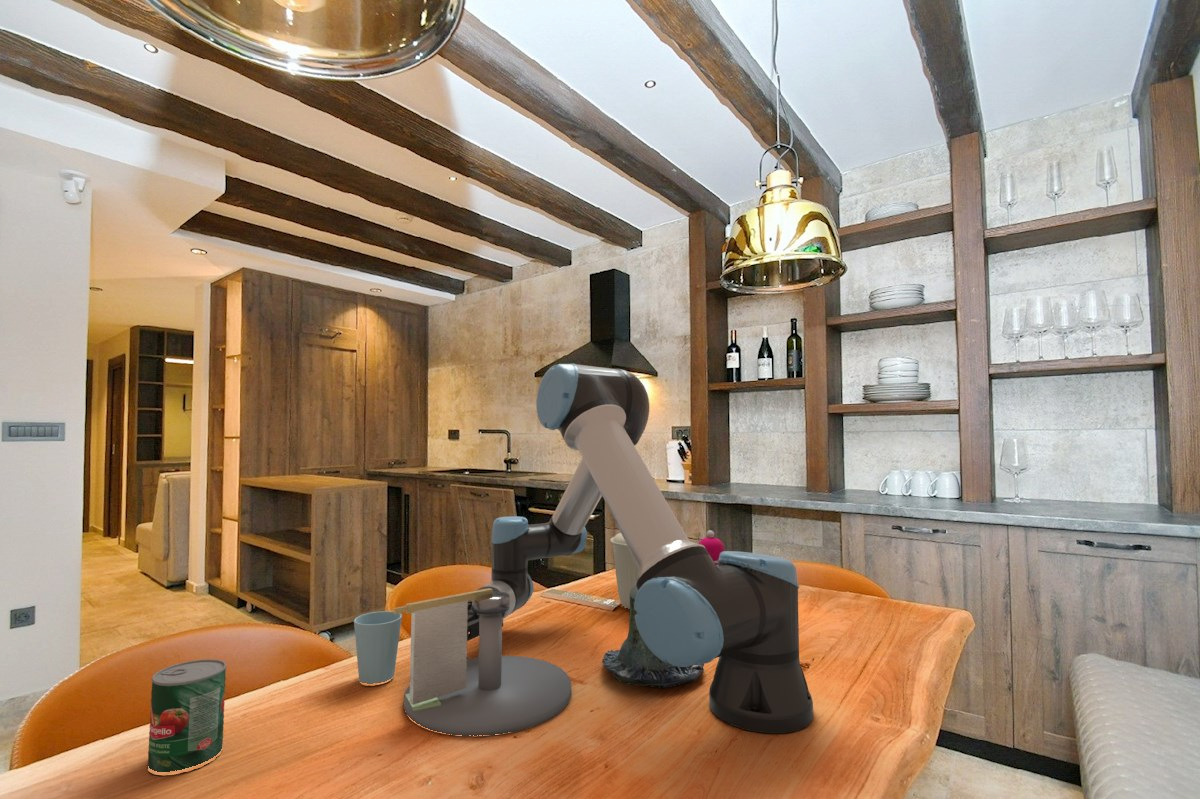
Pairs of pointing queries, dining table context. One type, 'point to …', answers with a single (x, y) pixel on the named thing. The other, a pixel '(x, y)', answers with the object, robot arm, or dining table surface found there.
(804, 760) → the dining table surface
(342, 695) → the dining table surface
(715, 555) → the pepper mill
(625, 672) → the tree stump
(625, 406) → the robot arm
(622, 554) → the canister
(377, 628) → the cup
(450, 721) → the stand
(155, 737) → the canned tomato
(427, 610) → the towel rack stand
